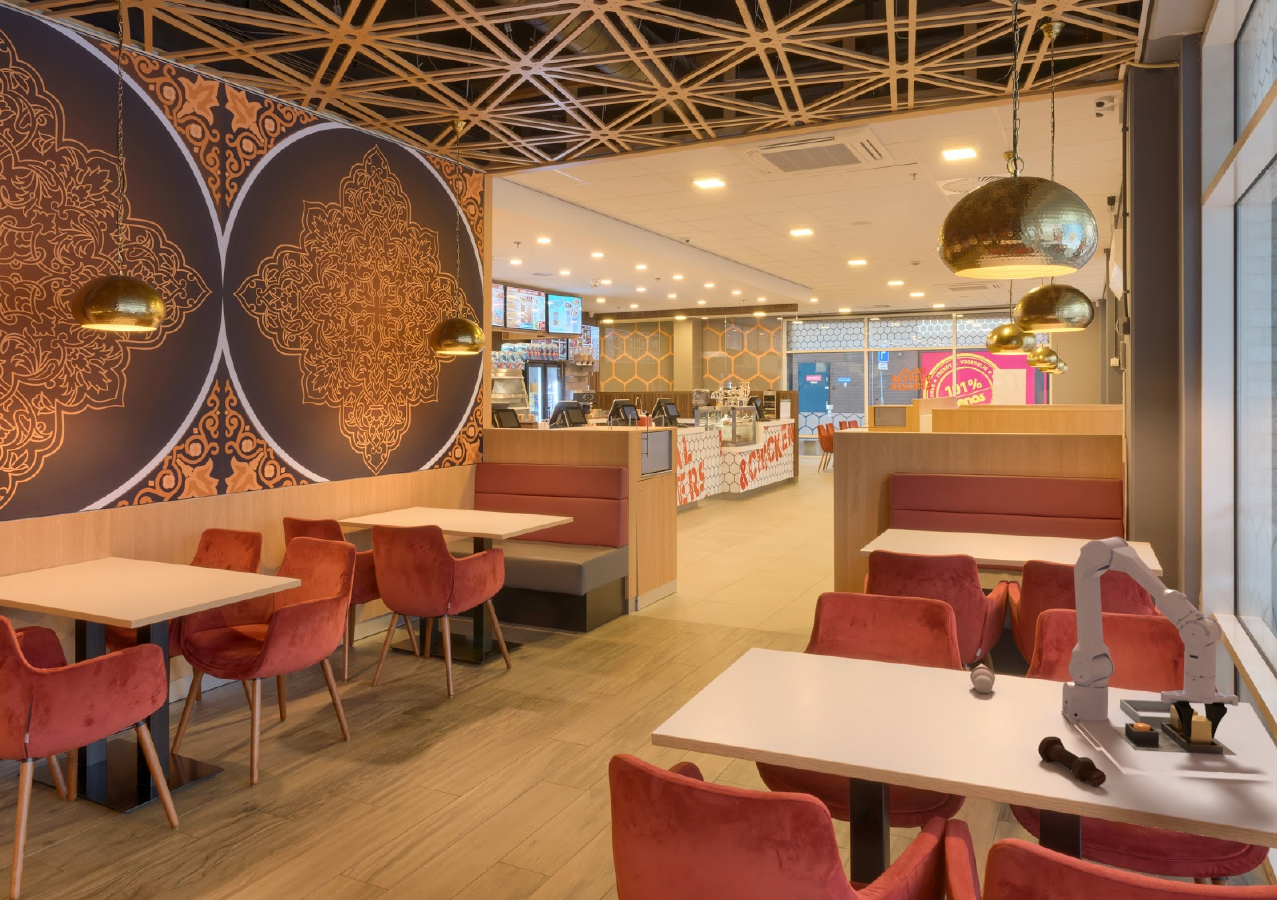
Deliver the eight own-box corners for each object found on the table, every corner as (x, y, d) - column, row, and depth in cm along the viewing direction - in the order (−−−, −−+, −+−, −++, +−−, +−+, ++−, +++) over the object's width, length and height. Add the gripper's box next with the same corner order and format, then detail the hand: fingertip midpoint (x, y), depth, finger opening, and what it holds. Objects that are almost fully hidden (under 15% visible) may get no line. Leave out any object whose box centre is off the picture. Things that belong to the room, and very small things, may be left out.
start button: (1136, 738, 193) (1137, 727, 193) (1131, 733, 196) (1131, 722, 196) (1152, 739, 192) (1152, 728, 192) (1146, 734, 195) (1146, 723, 195)
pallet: (1134, 754, 188) (1135, 738, 188) (1110, 730, 202) (1110, 715, 201) (1236, 759, 185) (1237, 743, 184) (1205, 734, 198) (1205, 719, 198)
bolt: (1096, 798, 172) (1045, 765, 186) (1115, 783, 172) (1063, 752, 187) (1084, 774, 170) (1033, 743, 185) (1104, 760, 171) (1052, 730, 186)
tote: (1139, 728, 202) (1140, 716, 202) (1119, 711, 214) (1120, 699, 214) (1196, 731, 201) (1196, 718, 200) (1172, 713, 212) (1173, 701, 212)
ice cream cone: (982, 677, 241) (985, 703, 227) (964, 663, 242) (965, 688, 228) (998, 663, 239) (1001, 688, 225) (979, 648, 240) (982, 672, 226)
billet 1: (1177, 737, 194) (1178, 711, 194) (1169, 731, 198) (1170, 705, 198) (1197, 738, 194) (1197, 712, 193) (1189, 732, 198) (1189, 706, 197)
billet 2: (1191, 748, 188) (1191, 720, 188) (1182, 741, 192) (1182, 714, 192) (1211, 749, 187) (1211, 721, 187) (1202, 742, 191) (1202, 715, 191)
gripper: (1171, 678, 185) (1170, 741, 186) (1246, 681, 183) (1244, 744, 184) (1157, 668, 192) (1156, 729, 193) (1229, 671, 190) (1228, 732, 191)
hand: (1198, 736), depth 189 cm, fingers closed on billet 2, 4 cm apart
